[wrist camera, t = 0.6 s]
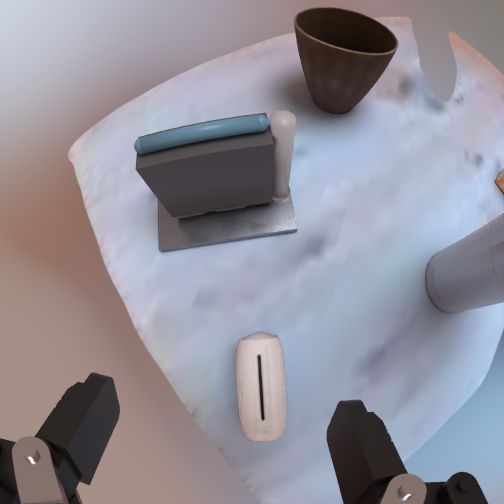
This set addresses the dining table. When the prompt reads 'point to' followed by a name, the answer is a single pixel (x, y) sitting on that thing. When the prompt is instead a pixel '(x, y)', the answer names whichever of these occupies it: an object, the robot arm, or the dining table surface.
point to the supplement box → (500, 180)
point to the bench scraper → (218, 162)
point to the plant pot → (341, 55)
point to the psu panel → (226, 224)
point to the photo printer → (261, 387)
